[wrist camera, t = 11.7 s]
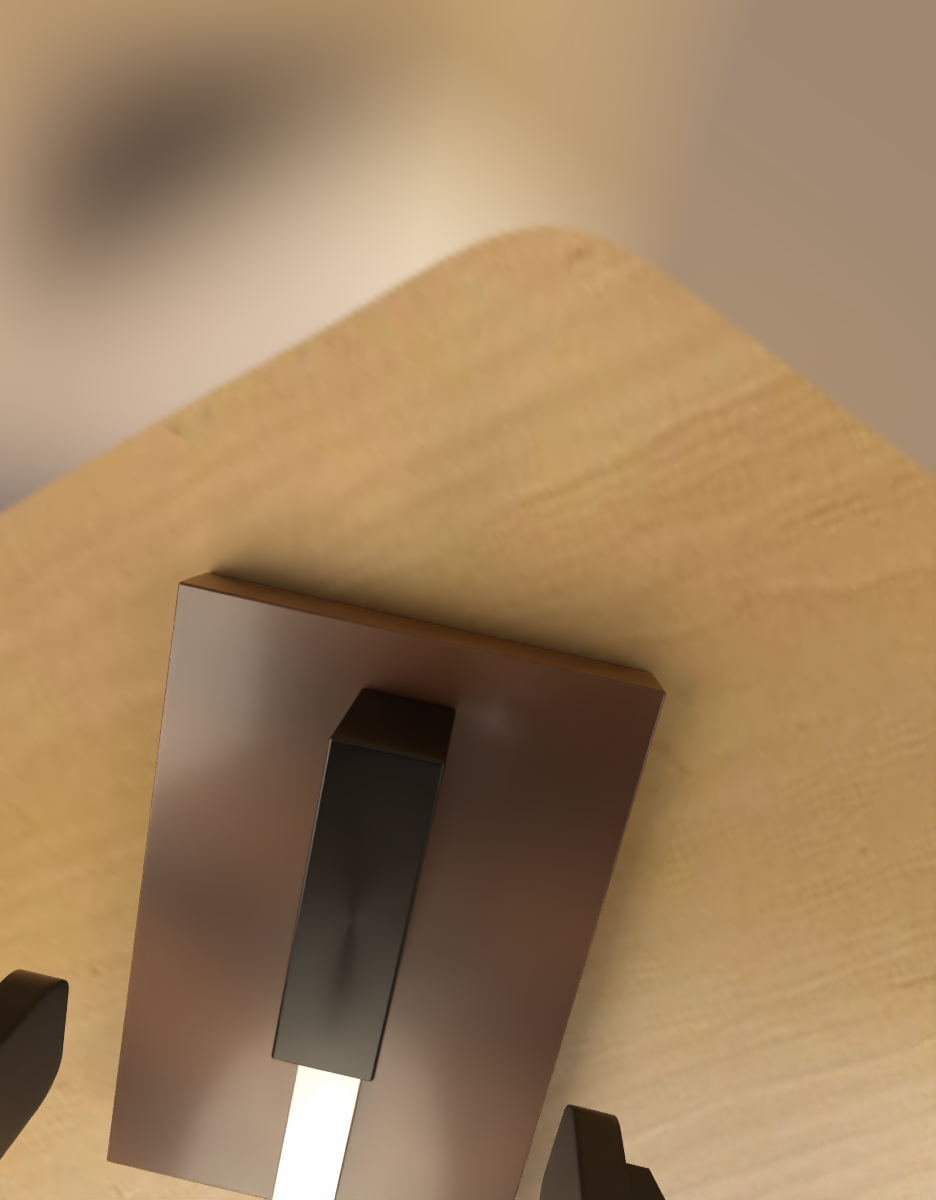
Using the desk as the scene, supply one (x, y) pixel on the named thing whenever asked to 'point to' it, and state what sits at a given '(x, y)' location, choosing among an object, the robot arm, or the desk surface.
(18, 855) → the desk surface
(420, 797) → the knife
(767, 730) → the desk surface
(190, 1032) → the board
